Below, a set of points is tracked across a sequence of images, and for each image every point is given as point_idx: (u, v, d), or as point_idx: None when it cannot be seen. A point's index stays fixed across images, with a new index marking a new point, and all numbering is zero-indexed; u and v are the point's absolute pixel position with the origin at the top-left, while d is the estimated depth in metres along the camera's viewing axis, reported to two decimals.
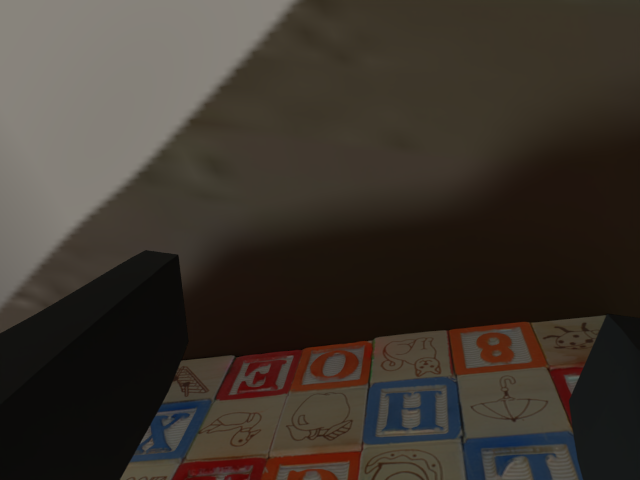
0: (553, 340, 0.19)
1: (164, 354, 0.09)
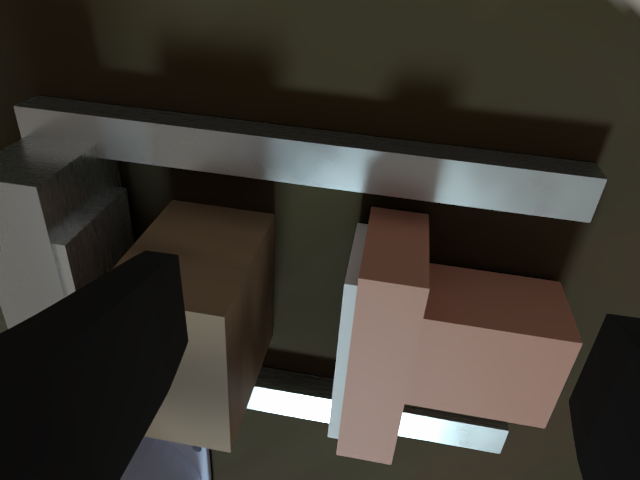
0: None
1: (164, 354, 0.09)
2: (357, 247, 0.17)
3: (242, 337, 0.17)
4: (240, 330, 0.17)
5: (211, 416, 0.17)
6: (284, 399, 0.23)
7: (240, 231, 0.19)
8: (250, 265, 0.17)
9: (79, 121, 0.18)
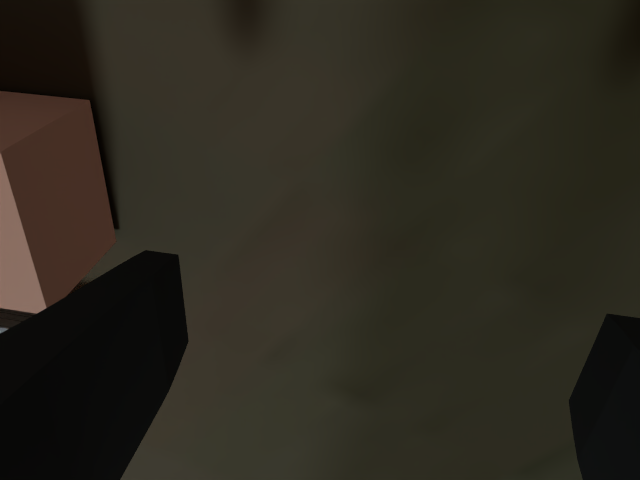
0: None
1: (164, 354, 0.09)
2: None
3: None
4: None
5: None
6: None
7: None
8: None
9: None
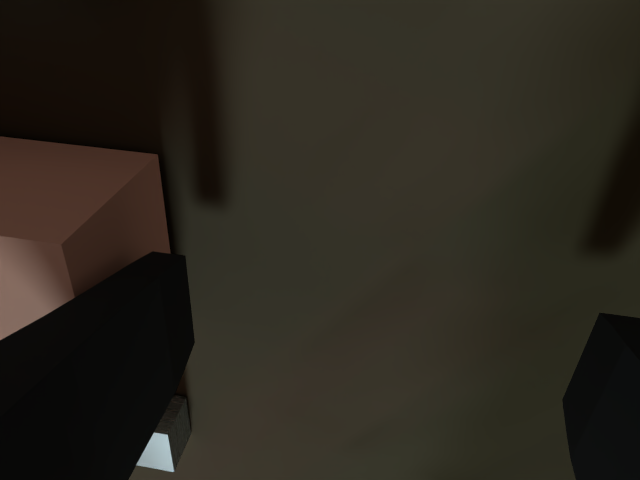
0: None
1: (171, 355, 0.09)
2: None
3: None
4: None
5: None
6: None
7: None
8: None
9: None
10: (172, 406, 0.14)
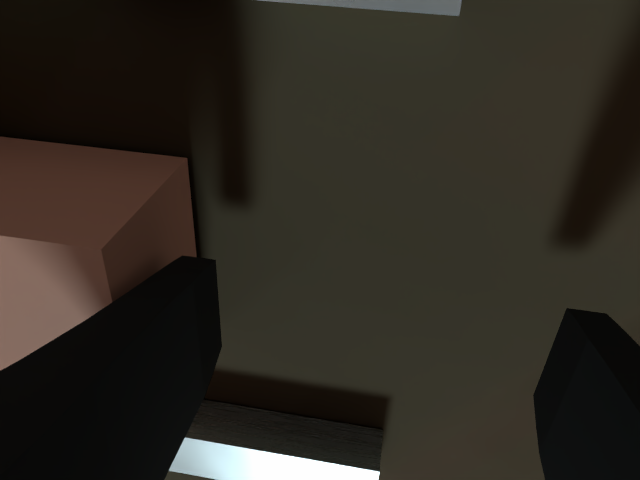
0: None
1: (201, 360, 0.09)
2: None
3: None
4: None
5: None
6: None
7: None
8: None
9: None
10: (372, 440, 0.13)
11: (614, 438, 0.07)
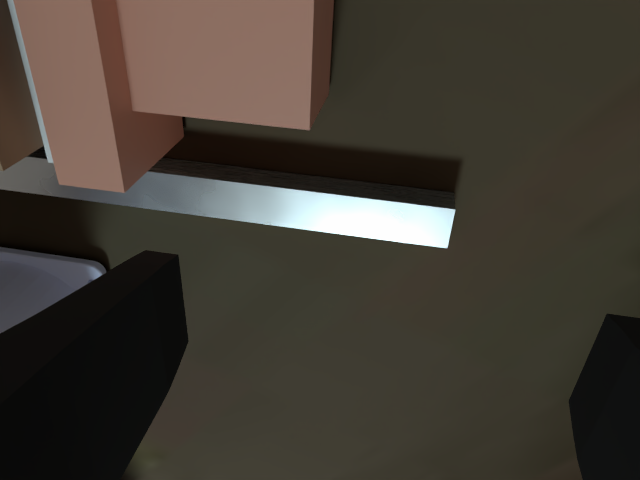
0: None
1: (164, 354, 0.09)
2: None
3: None
4: None
5: None
6: (177, 187, 0.18)
7: None
8: None
9: None
10: (447, 196, 0.18)
11: None
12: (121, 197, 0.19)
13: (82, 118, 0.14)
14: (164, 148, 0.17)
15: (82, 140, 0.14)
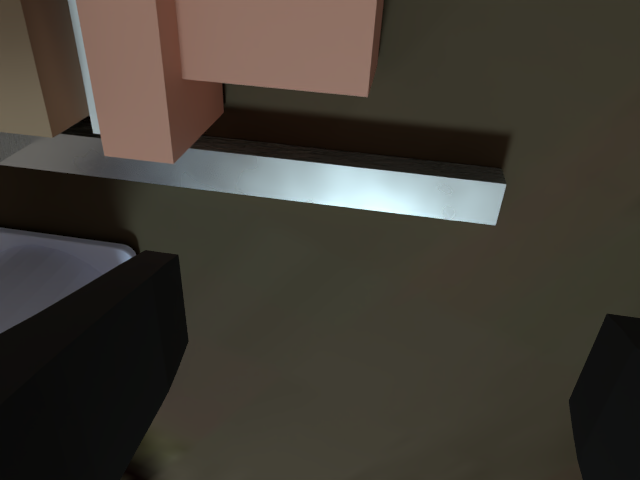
0: None
1: (164, 354, 0.09)
2: None
3: None
4: None
5: (12, 64, 0.12)
6: (216, 164, 0.18)
7: None
8: None
9: None
10: (495, 172, 0.17)
11: None
12: (158, 175, 0.19)
13: (133, 84, 0.13)
14: (207, 122, 0.17)
15: (132, 108, 0.14)
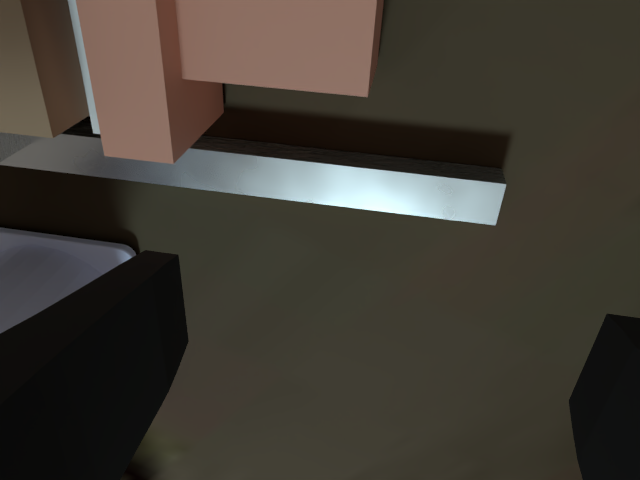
0: None
1: (164, 354, 0.09)
2: None
3: None
4: None
5: (12, 64, 0.12)
6: (216, 164, 0.18)
7: None
8: None
9: None
10: (495, 172, 0.17)
11: None
12: (158, 175, 0.19)
13: (133, 84, 0.13)
14: (207, 122, 0.17)
15: (132, 108, 0.14)
